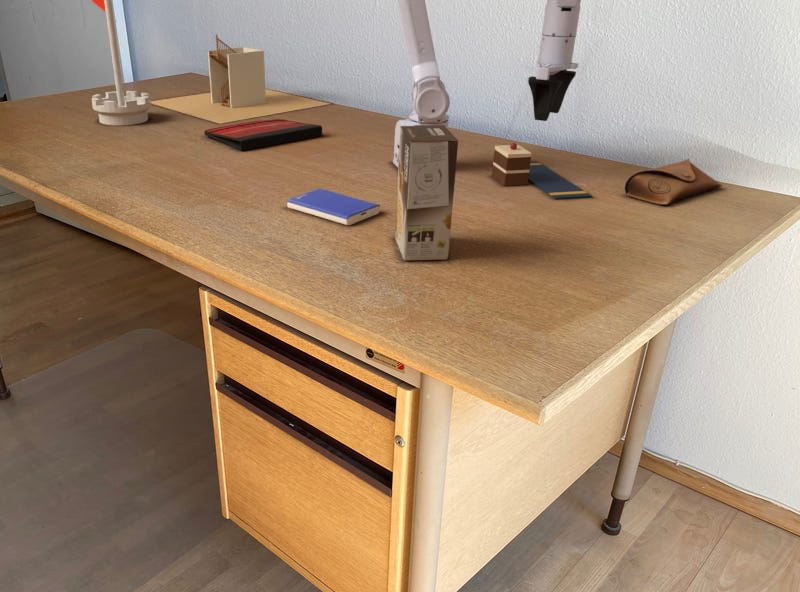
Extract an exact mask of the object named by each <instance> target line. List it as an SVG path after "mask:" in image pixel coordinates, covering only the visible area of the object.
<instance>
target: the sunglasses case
mask: <svg viewBox="0 0 800 592" xmlns="http://www.w3.org/2000/svg"><path fill="white" fill-rule="evenodd" d="M720 187H722V184H721V183H720V182H718V181H716V180H715V179H714V178H712V177H711V176H709V175H708V174H707V173H706V172H704V171H703V170H701V169H700V168H699V167H697V166H696V165H695V164H693V163H692V162H691V161H690V158H686V159H684V160H683V161H679V162H675V163H674V162H673V163H669V164H666V165H662V166H658V167H656V168H652V169H647V170H642V171H638V172H635V173H634V174H632V175H630V177H628V179H627V180H626V182H625V185H624V191H625V194H626V195H627V197H631V198H633V199H635V200H638V201H642V202H645V203H650V204H654V205H662V206H664V205H665V206H668V205H670V204H672V203H674V202H677V201H680V200H683V199H686V198H690V197H693V196H698V195H701V194H703V193H707V192H709V191H712V190H715V189H717V188H720Z"/></svg>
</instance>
